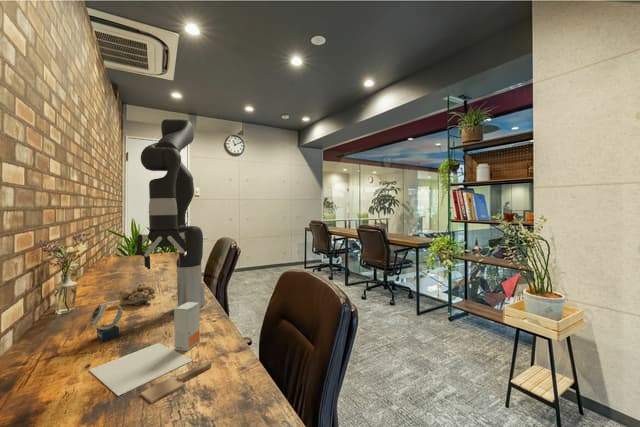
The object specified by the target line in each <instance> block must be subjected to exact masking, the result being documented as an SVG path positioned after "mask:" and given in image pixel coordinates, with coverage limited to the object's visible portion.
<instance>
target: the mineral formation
mask: <svg viewBox="0 0 640 427" xmlns="http://www.w3.org/2000/svg"><path fill="white" fill-rule="evenodd" d="M118 294H119V295H118V298H117V299H118V301H120V302H119V304H118V305H120V306H126V305H134V306H139V305H141V304H143V303H144V302H148V301H149V300H154V299H155V298H156V289H155V288H154V287H153V286H151V285H147V284H146V283H145V282H141V283H139V284H138V287H136V288H134V289H133V290H132V291H131V290H127V289H124V290H123V289H121V290H119V292H118Z"/></svg>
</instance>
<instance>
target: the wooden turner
mask: <svg viewBox="0 0 640 427" xmlns="http://www.w3.org/2000/svg"><path fill="white" fill-rule="evenodd" d="M211 367H212V362H210V361H209V360H208V361H205V362H203V363H201V364H199V365H197V366H195V367H193V368H191V369H190V370H187V371H186V372H184V373H182V374H180V375H178V376H171V377H169V378H167V379H165V380H164V381H163V380H162V381H161V382H159V383H157V384H155V385H153V386H151V387H150V388H148V389H145V390H144V391H142V392H140V395H141V397H143V398H144V399H145V400H147V401H148V402H149V403H151V404H154V403H157V402H158V401H160V400H161V399H163V398H165V397H167V396H169V395H171V394H172V393H175V392H177V391H178V390H180V389H182V388H184V387H185V382H186V381H188V380H190V379H191V378H194V377H195V376H197V375H200V374H201V373H202V372H204V371H207V370H209V369H210V368H211Z"/></svg>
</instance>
